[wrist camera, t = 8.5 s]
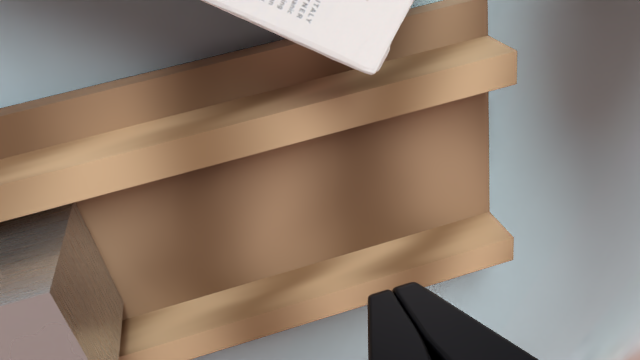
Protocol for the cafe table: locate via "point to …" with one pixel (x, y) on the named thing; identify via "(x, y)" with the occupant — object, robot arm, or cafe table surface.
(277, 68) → the brown shallow tray
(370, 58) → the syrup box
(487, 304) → the cafe table surface
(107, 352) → the grey pink cube
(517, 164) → the cafe table surface
